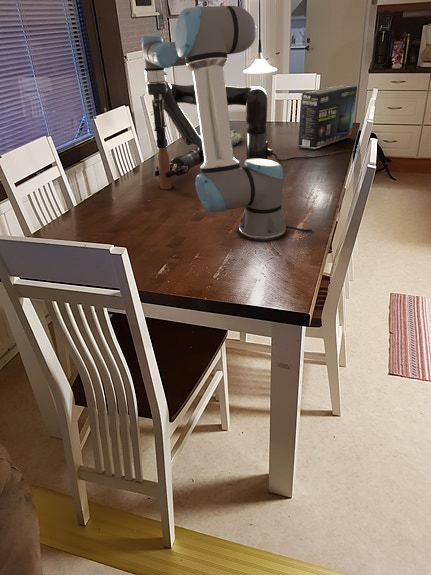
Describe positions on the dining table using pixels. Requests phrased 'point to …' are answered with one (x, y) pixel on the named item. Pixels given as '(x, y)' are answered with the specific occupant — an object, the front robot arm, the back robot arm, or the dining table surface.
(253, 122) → the back robot arm
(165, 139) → the cap
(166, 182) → the bottle
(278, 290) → the dining table surface
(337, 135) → the router box
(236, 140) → the fossil
